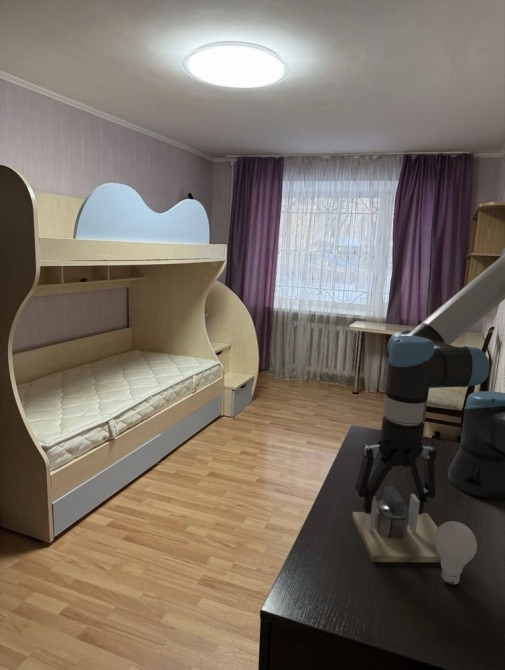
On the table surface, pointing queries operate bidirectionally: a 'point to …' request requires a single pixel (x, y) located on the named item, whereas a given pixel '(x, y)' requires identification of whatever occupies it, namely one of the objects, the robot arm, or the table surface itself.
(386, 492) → the dark grey rounded piece
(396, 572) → the table surface
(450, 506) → the table surface
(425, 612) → the table surface
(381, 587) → the table surface
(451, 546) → the light bulb
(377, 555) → the socket base
